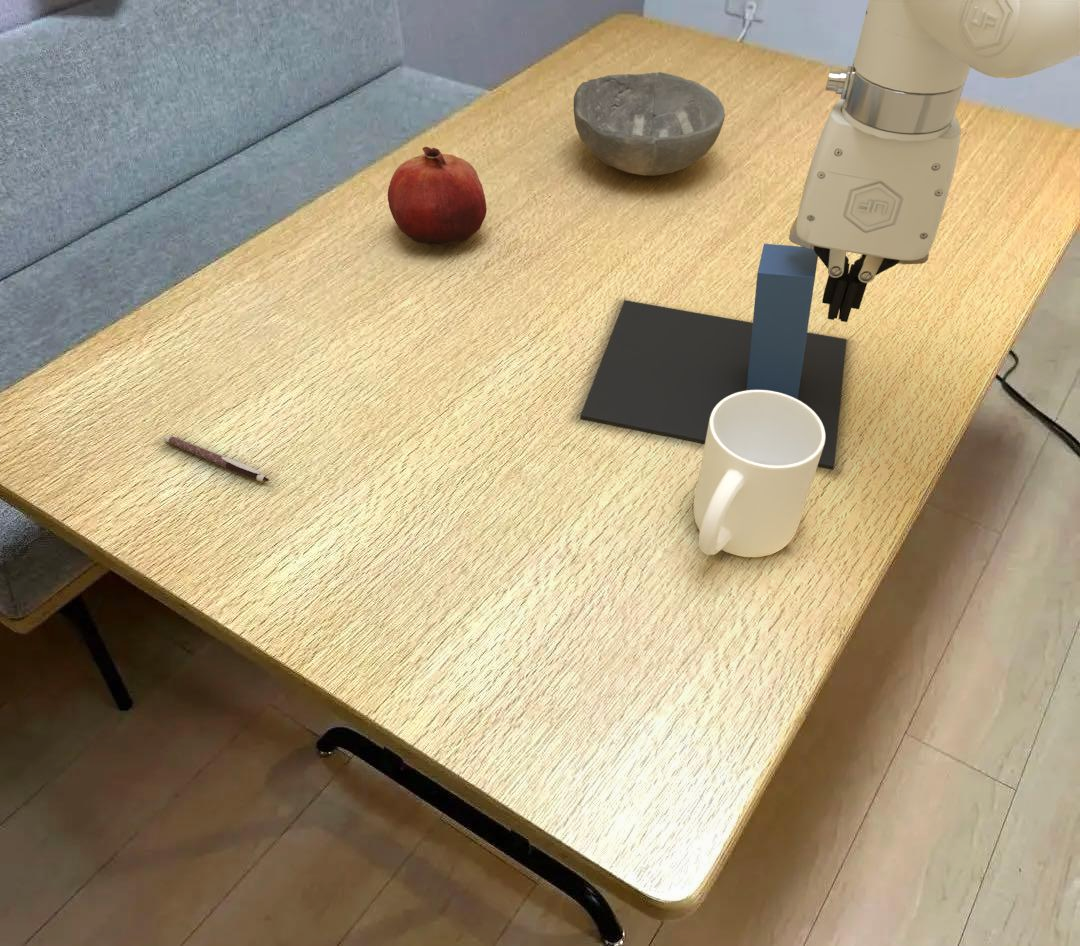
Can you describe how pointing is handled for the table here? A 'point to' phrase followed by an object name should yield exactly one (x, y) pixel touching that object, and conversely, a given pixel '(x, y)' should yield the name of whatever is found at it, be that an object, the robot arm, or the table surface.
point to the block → (781, 318)
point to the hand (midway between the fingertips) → (838, 310)
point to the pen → (218, 459)
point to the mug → (756, 472)
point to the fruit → (437, 198)
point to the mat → (697, 373)
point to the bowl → (647, 121)
